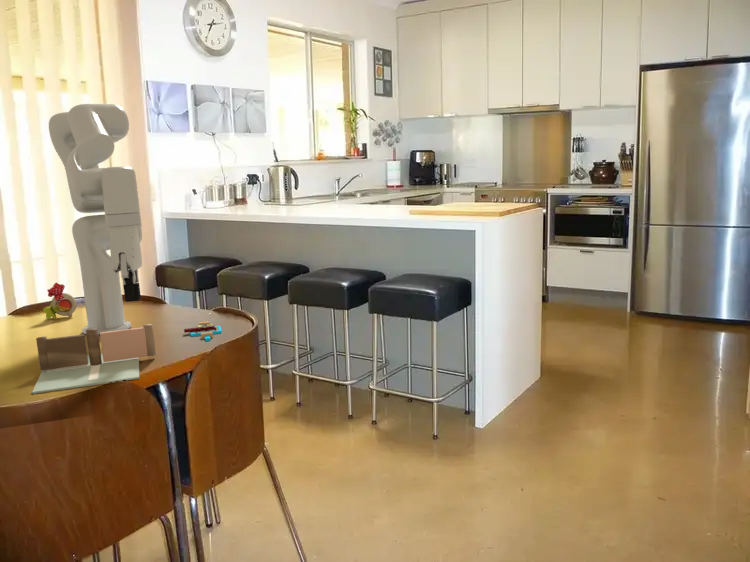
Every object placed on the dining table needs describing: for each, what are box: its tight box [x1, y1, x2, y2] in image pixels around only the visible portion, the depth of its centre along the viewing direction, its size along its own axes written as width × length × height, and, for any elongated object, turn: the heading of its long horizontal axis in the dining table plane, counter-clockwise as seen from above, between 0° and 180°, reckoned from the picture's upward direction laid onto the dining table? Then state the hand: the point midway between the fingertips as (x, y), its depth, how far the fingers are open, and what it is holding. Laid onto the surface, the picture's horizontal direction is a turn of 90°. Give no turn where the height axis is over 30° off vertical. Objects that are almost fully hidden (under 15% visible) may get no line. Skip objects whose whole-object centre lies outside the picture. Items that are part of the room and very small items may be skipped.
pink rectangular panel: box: [99, 323, 157, 362], centre depth 150 cm, size 2×11×7 cm, turn 110°
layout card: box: [31, 352, 140, 395], centre depth 146 cm, size 25×20×1 cm
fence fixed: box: [35, 328, 102, 371], centre depth 147 cm, size 2×12×8 cm, turn 110°
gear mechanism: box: [183, 313, 223, 342], centre depth 175 cm, size 20×5×9 cm
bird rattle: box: [42, 282, 78, 320], centre depth 204 cm, size 6×11×9 cm
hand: (133, 300), depth 155 cm, fingers closed
